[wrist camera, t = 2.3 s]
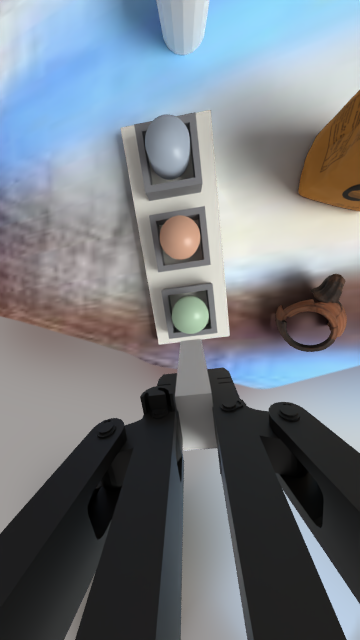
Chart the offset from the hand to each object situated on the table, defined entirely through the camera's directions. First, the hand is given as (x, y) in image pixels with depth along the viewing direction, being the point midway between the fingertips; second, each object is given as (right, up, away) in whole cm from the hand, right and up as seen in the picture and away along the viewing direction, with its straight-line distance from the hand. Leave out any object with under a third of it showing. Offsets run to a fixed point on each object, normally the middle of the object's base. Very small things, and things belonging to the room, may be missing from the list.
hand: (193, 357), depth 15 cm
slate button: (-2, +23, +10) cm, 26 cm away
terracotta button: (-1, +14, +13) cm, 19 cm away
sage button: (+1, +4, +15) cm, 16 cm away
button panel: (-1, +15, +17) cm, 23 cm away
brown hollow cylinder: (+20, +5, +19) cm, 28 cm away
